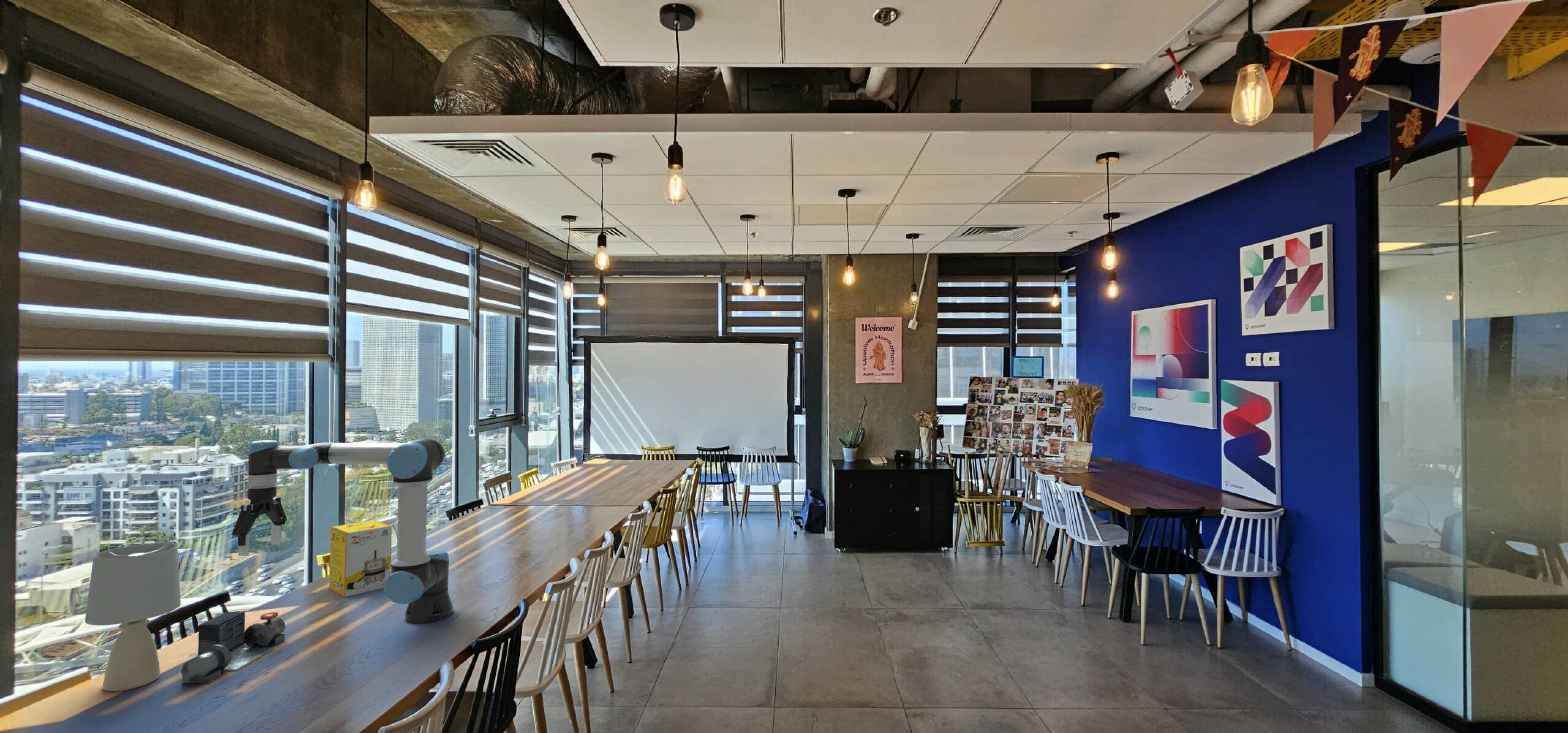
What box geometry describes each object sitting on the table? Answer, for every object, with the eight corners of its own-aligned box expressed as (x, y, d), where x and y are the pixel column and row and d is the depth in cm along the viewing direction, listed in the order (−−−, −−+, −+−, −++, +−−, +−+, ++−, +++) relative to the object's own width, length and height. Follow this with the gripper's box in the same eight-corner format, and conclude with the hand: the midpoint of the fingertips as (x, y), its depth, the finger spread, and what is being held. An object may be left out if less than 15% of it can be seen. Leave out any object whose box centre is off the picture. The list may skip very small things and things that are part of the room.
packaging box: (373, 578, 265) (375, 520, 266) (390, 586, 256) (391, 525, 256) (328, 588, 252) (330, 527, 253) (344, 597, 242) (346, 533, 243)
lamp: (135, 666, 184) (140, 541, 184) (196, 668, 183) (200, 542, 184) (60, 698, 165) (65, 559, 166) (127, 700, 164) (132, 560, 165)
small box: (224, 644, 199) (225, 611, 200) (245, 643, 200) (246, 610, 200) (195, 658, 189) (197, 624, 189) (218, 658, 190) (219, 623, 190)
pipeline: (257, 639, 203) (258, 611, 203) (292, 638, 204) (293, 611, 204) (171, 685, 172) (172, 653, 173) (213, 685, 173) (214, 652, 173)
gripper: (279, 480, 221) (277, 539, 221) (218, 493, 196) (216, 560, 196) (300, 480, 222) (298, 540, 221) (243, 493, 197) (240, 560, 196)
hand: (260, 549), depth 209 cm, fingers open, 13 cm apart
